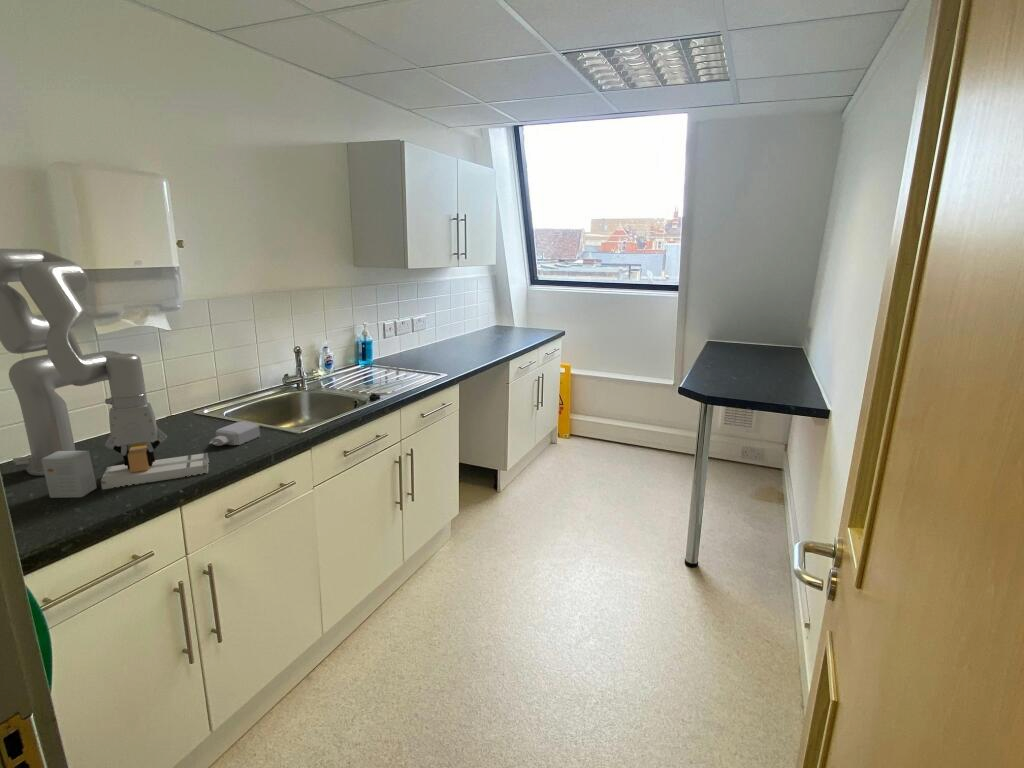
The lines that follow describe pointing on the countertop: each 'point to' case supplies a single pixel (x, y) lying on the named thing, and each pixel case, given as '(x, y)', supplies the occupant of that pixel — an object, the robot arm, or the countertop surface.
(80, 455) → the small box
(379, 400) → the countertop surface
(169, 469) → the fader panel
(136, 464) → the fader knob
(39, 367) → the robot arm
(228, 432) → the grey bottle
